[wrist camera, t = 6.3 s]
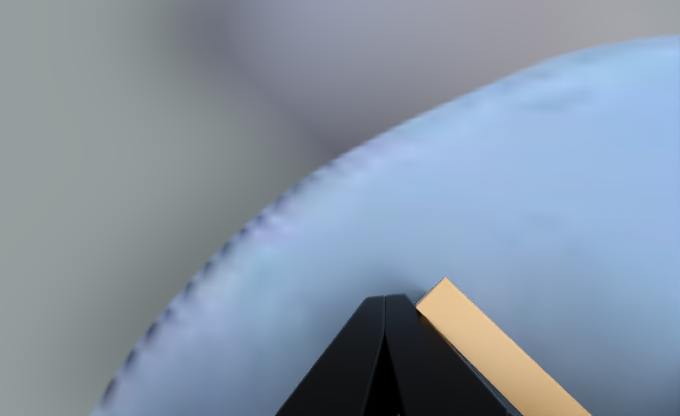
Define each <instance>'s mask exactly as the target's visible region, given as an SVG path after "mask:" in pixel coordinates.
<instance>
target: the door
mask: <svg viewBox="0 0 680 416" xmlns="http://www.w3.org/2000/svg"><path fill="white" fill-rule="evenodd" d="M415 305H416V308H417V309H418V310H419V311H420V312H421V313H422V314H423V315H424V316H426V317H427V318H428V320H429V321H430V322H431V323H432V324H433V325H434V326H435V327H436V328H437V329H438V330H439V331H440V332H441V333H442V334H443V335H444V336H445V337H446V338H447V339H448V340H449V341H450V342H451V343H452V344H453V345H454V346H455V347H456V348H457V349H458V350H459V351H460V352H461V353H462V354H463V355H464V356H465V357H466V358H467V359H468V360H469V361H470V362H471V363H472V364H473V365H474V366H475V367H476V368H477V369H478V370H479V371H480V372H481V373H482V374H483V375H484V376H485V377H486V378H487V380H488V381H489V382H490V383H491V384H492V385H493V386H494V387H495V388H496V389H497V390H498V391H499V392H500V393H501V394H502V395H503V396H504V397H505V398H506V399H507V400H508V401H509V402H510V403H511V404H512V405H513V406H514V407H515V408H516V409H517V410H518V411H519V412H520V413H521V414H522V415H523V416H592V415H591V414H590V413H589V412H588V411H587V410H585V409H584V408H583V407H582V406H581V405H580V404H579V403H578V402H577V401H576V400H575V399H574V398H573V397H572V396H571V395H570V394H569V393H568V392H566V391H565V390H564V389H563V388H562V387H561V386H560V385H559V384H558V383H557V382H556V381H555V380H554V379H553V378H552V377H551V376H550V375H549V374H547V373H546V372H545V371H544V370H543V369H542V368H541V367H540V366H539V365H538V364H537V363H536V362H535V361H534V360H533V359H532V358H531V357H530V356H528V355H527V354H526V353H525V352H524V351H523V350H522V349H521V348H520V347H519V346H518V345H517V344H516V343H515V342H514V341H513V340H512V339H511V338H509V337H508V336H507V335H506V334H505V333H504V332H503V331H502V330H501V329H500V328H499V327H498V326H497V325H496V324H495V323H494V322H493V321H492V320H490V319H489V318H488V317H487V316H486V315H485V314H484V313H483V312H482V311H481V310H480V309H479V308H478V307H477V306H476V305H475V304H474V303H473V302H471V301H470V300H469V299H468V298H467V297H466V296H465V295H464V294H463V293H462V292H461V291H460V290H459V289H458V288H457V287H456V286H455V285H454V284H452V283H451V282H450V281H449V280H448V279H447V278H446V277H445V278H444V279H442V280H441V281H440V282H439V283H438V284H436V285H435V286H434V287H433V288H432V289H430V290H429V291H428V292H427V293H426V294H425V295H424V296H423V297H422V298H421V299H420V300H419V301H418V302H417V303H416V304H415Z"/></svg>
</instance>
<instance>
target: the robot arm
mask: <svg viewBox="0 0 680 416" xmlns="http://www.w3.org/2000/svg"><path fill="white" fill-rule="evenodd" d="M399 415H400V416H515V415H514V414H513V413H512V412H509V410H508V408H507V407H506V406H505V405H504V404H503V403H502V401H501V400H500V399H499V398H498V397H497V396H496V395H495V394H494V392H493V391H492V390H491V389H490V388H489V387H488V386H487V385H486V383H485V382H484V381H483V380H482V379H481V378H480V377H479V376H478V374H477V373H476V372H475V371H474V370H473V369H472V368H471V367H470V366H469V364H468V363H467V362H466V361H465V360H464V359H463V358H462V357H461V355H460V354H459V353H458V352H457V351H456V350H455V349H454V348H453V346H452V345H451V344H450V343H449V342H448V341H447V340H446V339H445V337H444V336H443V335H442V334H441V333H440V332H439V331H438V330H437V329H436V327H435V326H434V325H433V324H432V323H431V322H430V321H429V320H428V318H427V317H426V316H424V315H423V314H422V313H421V312H420V311H419V310H418V309H417V308H416V305H415V304H414V303H413V302H412V300H411V299H410V298H409V297H408V296H407V295H406V294H403V293H402V294H392V295H387V296H373V297H367V298H366V299H364V301H363V302H362V303H361V305H360V306H359V307H358V309H357V310H356V311H355V312H354V314H353V315H352V316H351V318H350V319H349V320H348V321H347V323H346V324H345V325H344V327H343V328H342V329H341V330H340V332H339V333H338V334H337V336H336V337H335V338H334V340H333V341H332V342H331V343H330V345H329V346H328V347H327V349H326V350H325V351H324V352H323V354H322V355H321V356H320V358H319V359H318V360H317V362H316V363H315V364H314V365H313V367H312V368H311V369H310V371H309V372H308V373H307V374H306V376H305V377H304V378H303V380H302V381H301V382H300V383H299V385H298V386H297V387H296V389H295V390H294V391H293V393H292V394H291V395H290V396H289V398H288V399H287V400H286V402H285V403H284V404H283V405H282V407H281V408H280V409H279V411H278V412H277V413H276V415H275V416H399Z"/></svg>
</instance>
